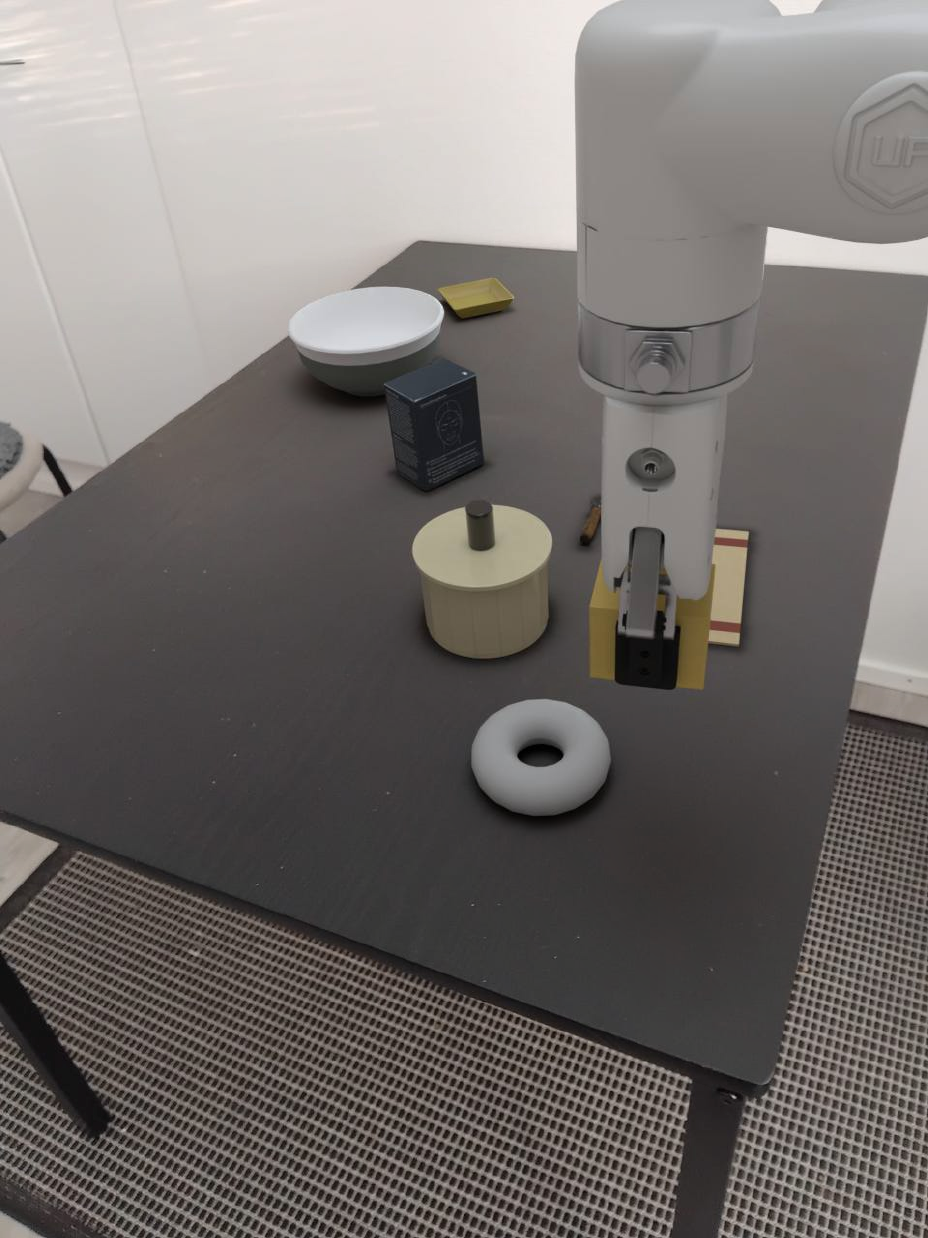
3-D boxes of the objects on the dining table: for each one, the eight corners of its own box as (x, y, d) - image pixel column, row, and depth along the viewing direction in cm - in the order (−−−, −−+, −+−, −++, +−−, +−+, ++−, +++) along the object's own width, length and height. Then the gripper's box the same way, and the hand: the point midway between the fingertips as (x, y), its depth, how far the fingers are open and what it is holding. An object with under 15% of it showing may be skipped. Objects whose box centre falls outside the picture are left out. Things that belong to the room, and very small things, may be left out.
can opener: (589, 546, 91) (589, 535, 90) (566, 541, 92) (566, 530, 91) (622, 496, 97) (622, 486, 96) (599, 492, 98) (600, 482, 97)
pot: (544, 577, 88) (542, 508, 83) (552, 655, 80) (550, 583, 75) (429, 584, 89) (421, 516, 84) (425, 662, 81) (416, 591, 76)
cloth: (748, 533, 91) (748, 531, 91) (738, 647, 79) (739, 644, 79) (640, 524, 93) (640, 521, 93) (615, 632, 82) (615, 629, 82)
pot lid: (548, 510, 84) (546, 464, 81) (557, 593, 75) (556, 545, 72) (416, 519, 85) (410, 473, 82) (410, 602, 76) (403, 554, 73)
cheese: (708, 635, 55) (715, 563, 52) (703, 690, 51) (710, 617, 48) (602, 624, 56) (602, 554, 53) (589, 677, 53) (589, 606, 50)
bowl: (412, 425, 112) (404, 357, 106) (271, 407, 118) (257, 342, 112) (472, 354, 125) (467, 291, 119) (342, 341, 131) (332, 280, 125)
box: (453, 446, 107) (445, 355, 101) (485, 465, 104) (478, 373, 97) (394, 472, 104) (381, 381, 97) (425, 493, 100) (413, 400, 94)
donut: (638, 767, 71) (535, 700, 76) (641, 735, 68) (535, 668, 74) (546, 852, 66) (443, 774, 71) (545, 820, 63) (439, 742, 69)
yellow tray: (437, 301, 139) (436, 287, 137) (495, 290, 140) (494, 276, 139) (455, 324, 132) (454, 309, 131) (515, 312, 134) (515, 297, 132)
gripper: (749, 437, 35) (711, 776, 47) (762, 261, 47) (729, 564, 59) (542, 427, 37) (555, 755, 48) (606, 260, 49) (604, 554, 61)
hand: (651, 648), depth 53 cm, fingers closed on cheese, 4 cm apart
